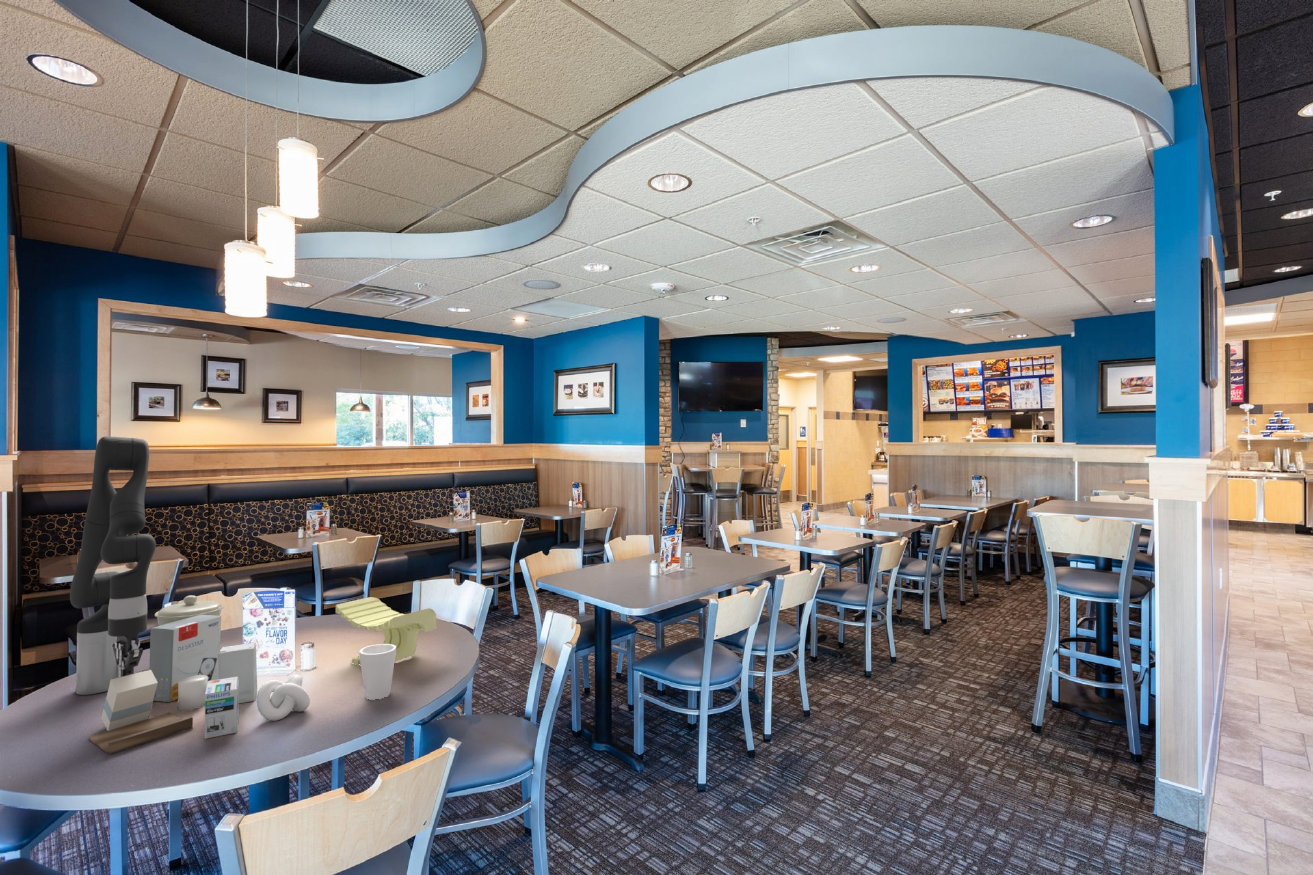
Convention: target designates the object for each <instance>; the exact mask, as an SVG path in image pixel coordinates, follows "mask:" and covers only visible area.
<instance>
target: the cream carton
mask: <svg viewBox="0 0 1313 875" xmlns="http://www.w3.org/2000/svg"><path fill="white" fill-rule="evenodd" d="M157 684H158V682H157V680H156V678H155V676H154V675H153V673H152V671H151V670H149V669H148V670H145V671H140V672H136V673H135V672H134V674H131V675H127V676H123V677H121V676H119V678H115V679H111V681H110V685H109V689H108V691H107V694H106V698H105V700H104V701H105V702H104V704H103V710H102V714H101V719H102V721H103V723H104V726H105V729H106V731H109V730H112V729H116V728H119V727H122V726H126V725H129V724H133V723H136V722H139V721H143V720H146V719H149V717H150V712H151V710H152V706H153V704H154V703H153V702H154V700H153V699H154V695H155V691H156V687H157Z"/></svg>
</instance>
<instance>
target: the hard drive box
mask: <svg viewBox="0 0 1313 875" xmlns="http://www.w3.org/2000/svg"><path fill="white" fill-rule="evenodd" d="M221 626H222V615H220V616H214V615H198V616H194V617H190V618H187V619H183V620H179V621H176V622H172V623H168V624H164V625H161V626H158V625H157V626H154V627H151V628H150V632H149V633H150V641H149V645H150V646H149V669H148V670H151V671H152V673H153V675H154V676H155V678H156V680H157V682H158V684H157V687H156V691H155V695H154V699H153V702H154V701H155V702H156V701H157V702H165V703H171V702H173V701H176V700H178V681H179V680H181V679H183V678H186V677H190V676H195V675H206V676H208V681H211V680H219V662H218V654H219V652H220V650H221V631H222V630H221V628H222V627H221Z"/></svg>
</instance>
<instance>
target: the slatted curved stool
mask: <svg viewBox="0 0 1313 875" xmlns="http://www.w3.org/2000/svg"><path fill="white" fill-rule="evenodd" d="M335 614H338V615H340V618H342V619H345V623H346V622H347V623H350V626H351V627H355V628H359V629H363V630H369V631H371V632H381V631H383V633H384V641H383V643H382V644H392V645H395V646H396V656H395V662H396V661H398V660H401V659H403V658H407V657H409V656H412V655H414V656H415V655H416V650H417V646H418V645H417V643H418V636H419V633H420V631H422V632H423V633H428V632H432V631H435V630H437V614H436V611H435V610H434V609H432V608H429V607H428V608H425V609H421V610H416V611H413V612H410V613H406V614H404V613H400V612H398V611H396V610H393V609H392V608H391V607H389V606H387V604H386V603H384V602H382V601H381V600H380V598H377V597H373V596H370V597H365V598H360V599H357V600H352V601H351V600H350V601H346V602H342V603H338V604H335ZM351 662H352V663H354V664H356V665H355V666H357V665H358V666H360V665H361V663H360V660H359V655H358V656H355V657H352V660H351ZM354 664H353V665H354ZM359 664H360V665H359Z"/></svg>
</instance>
